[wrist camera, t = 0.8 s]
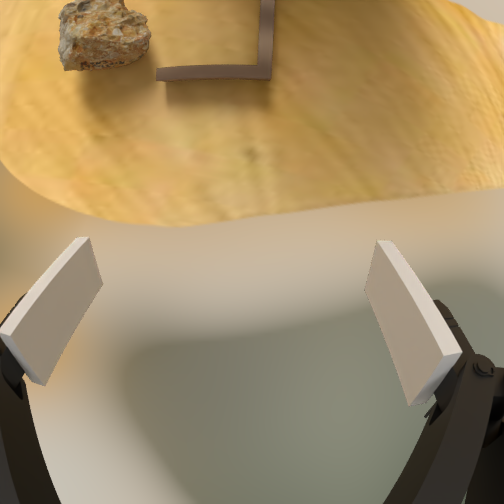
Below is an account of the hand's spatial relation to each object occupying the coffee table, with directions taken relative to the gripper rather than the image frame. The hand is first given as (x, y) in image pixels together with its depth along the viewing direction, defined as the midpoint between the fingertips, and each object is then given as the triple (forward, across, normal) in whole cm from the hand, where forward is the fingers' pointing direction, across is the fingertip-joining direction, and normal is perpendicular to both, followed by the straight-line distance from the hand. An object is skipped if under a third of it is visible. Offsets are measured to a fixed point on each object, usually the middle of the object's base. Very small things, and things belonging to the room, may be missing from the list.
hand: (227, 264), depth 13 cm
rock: (+26, -16, +17) cm, 35 cm away
